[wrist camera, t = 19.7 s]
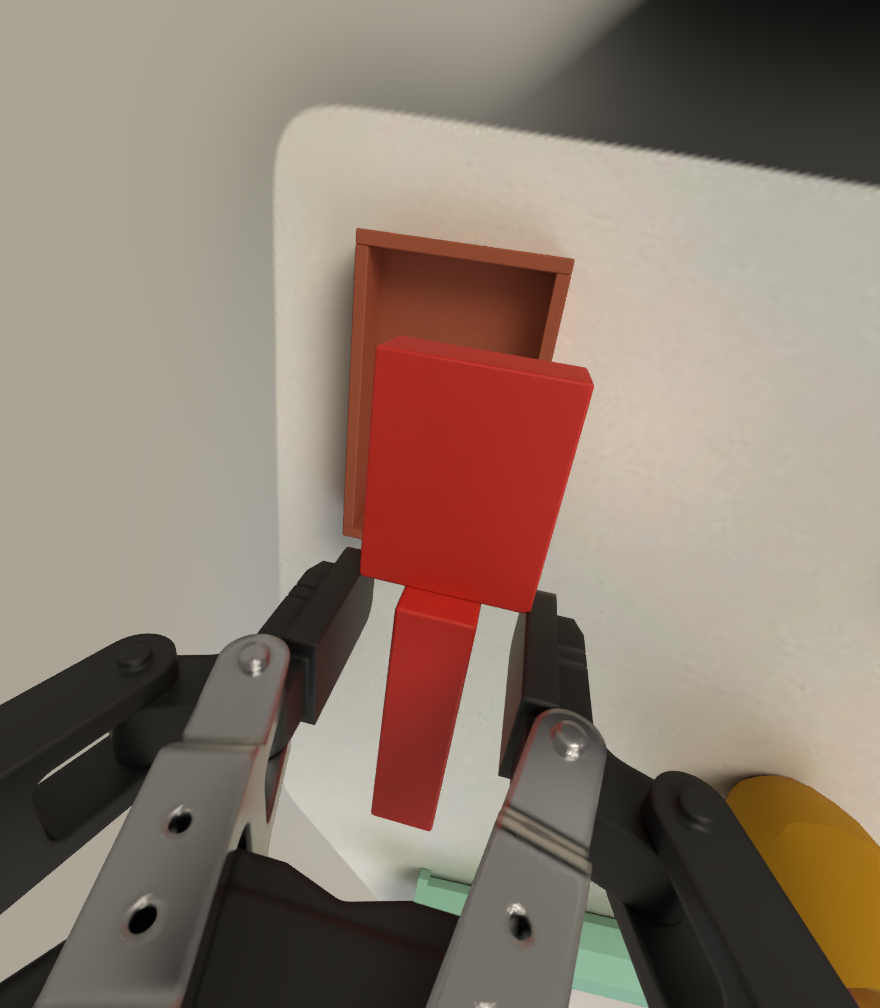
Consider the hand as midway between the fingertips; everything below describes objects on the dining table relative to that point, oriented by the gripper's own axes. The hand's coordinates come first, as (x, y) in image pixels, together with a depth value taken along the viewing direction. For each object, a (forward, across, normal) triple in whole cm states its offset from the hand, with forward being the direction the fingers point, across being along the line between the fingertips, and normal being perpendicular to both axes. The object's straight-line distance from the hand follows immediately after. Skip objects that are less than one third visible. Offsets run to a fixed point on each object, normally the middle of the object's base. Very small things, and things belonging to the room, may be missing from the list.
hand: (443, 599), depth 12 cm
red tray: (+15, +3, -1) cm, 15 cm away
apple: (+15, -23, +22) cm, 35 cm away
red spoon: (0, 0, 0) cm, 1 cm away
